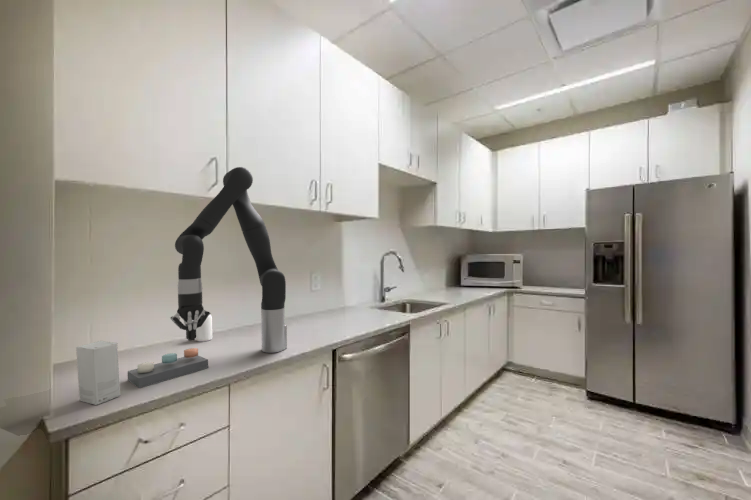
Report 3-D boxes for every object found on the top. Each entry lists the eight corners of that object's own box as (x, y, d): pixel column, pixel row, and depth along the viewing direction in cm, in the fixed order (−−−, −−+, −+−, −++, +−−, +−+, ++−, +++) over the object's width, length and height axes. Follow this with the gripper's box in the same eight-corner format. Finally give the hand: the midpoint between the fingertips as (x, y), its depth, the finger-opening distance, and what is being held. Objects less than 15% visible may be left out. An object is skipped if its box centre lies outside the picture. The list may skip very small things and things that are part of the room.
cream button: (151, 367, 112) (150, 361, 112) (156, 370, 109) (156, 363, 109) (135, 371, 108) (135, 364, 108) (140, 374, 106) (140, 367, 106)
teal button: (173, 358, 117) (173, 352, 117) (179, 360, 115) (179, 354, 115) (159, 361, 114) (159, 355, 114) (165, 364, 111) (165, 358, 111)
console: (194, 362, 126) (194, 354, 126) (208, 367, 120) (208, 359, 120) (127, 380, 109) (127, 371, 109) (139, 388, 103) (138, 378, 103)
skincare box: (120, 396, 97) (119, 342, 97) (94, 406, 91) (92, 349, 91) (103, 391, 101) (102, 339, 100) (76, 401, 95) (75, 345, 94)
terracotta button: (194, 352, 123) (194, 347, 123) (200, 355, 120) (200, 349, 120) (181, 356, 119) (181, 350, 119) (187, 358, 117) (187, 352, 117)
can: (195, 342, 151) (194, 315, 151) (198, 338, 157) (197, 313, 157) (210, 341, 153) (210, 314, 153) (213, 337, 159) (213, 312, 159)
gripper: (203, 288, 127) (204, 334, 127) (165, 292, 116) (166, 343, 117) (214, 290, 122) (215, 337, 123) (174, 294, 112) (175, 346, 112)
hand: (191, 340), depth 120 cm, fingers closed
